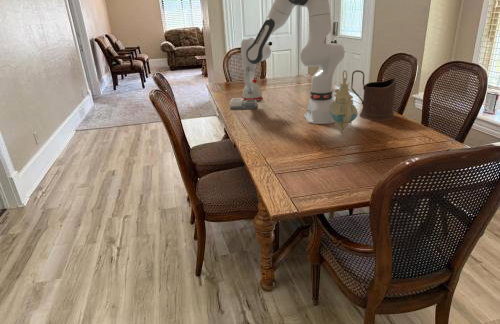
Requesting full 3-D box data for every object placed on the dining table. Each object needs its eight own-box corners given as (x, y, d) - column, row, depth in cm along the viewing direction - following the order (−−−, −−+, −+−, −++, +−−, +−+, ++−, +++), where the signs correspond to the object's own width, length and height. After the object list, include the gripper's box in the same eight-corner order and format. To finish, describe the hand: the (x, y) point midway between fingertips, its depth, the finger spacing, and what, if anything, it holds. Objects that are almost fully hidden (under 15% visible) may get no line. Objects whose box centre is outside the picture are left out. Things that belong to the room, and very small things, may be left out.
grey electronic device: (254, 109, 216) (254, 101, 214) (230, 109, 218) (229, 102, 217) (257, 104, 227) (257, 97, 225) (233, 104, 229) (233, 97, 227)
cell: (252, 93, 216) (252, 80, 213) (246, 93, 217) (245, 80, 213) (253, 92, 220) (253, 78, 216) (247, 92, 221) (246, 78, 217)
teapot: (323, 125, 180) (326, 67, 167) (345, 124, 180) (349, 65, 168) (336, 141, 158) (339, 75, 146) (360, 140, 158) (366, 74, 146)
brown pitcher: (397, 121, 181) (403, 72, 171) (350, 120, 186) (353, 73, 176) (391, 111, 198) (396, 66, 188) (348, 111, 203) (351, 67, 192)
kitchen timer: (261, 100, 236) (261, 78, 230) (242, 101, 237) (240, 79, 231) (261, 95, 249) (261, 74, 243) (242, 96, 250) (241, 75, 244)
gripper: (251, 68, 202) (252, 91, 207) (256, 63, 220) (257, 84, 226) (240, 68, 203) (242, 92, 208) (246, 63, 221) (247, 84, 227)
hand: (249, 88), depth 217 cm, fingers closed on cell, 4 cm apart
